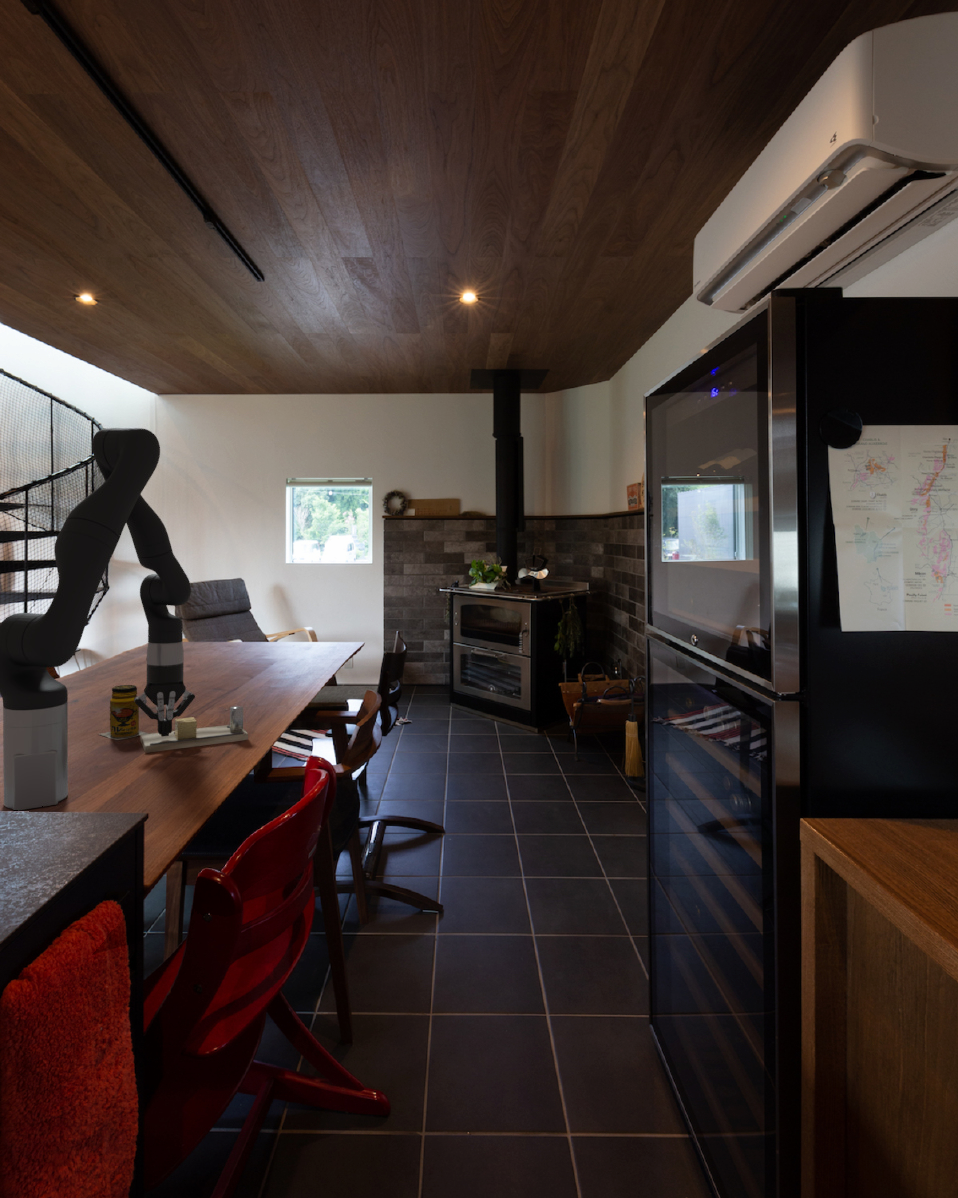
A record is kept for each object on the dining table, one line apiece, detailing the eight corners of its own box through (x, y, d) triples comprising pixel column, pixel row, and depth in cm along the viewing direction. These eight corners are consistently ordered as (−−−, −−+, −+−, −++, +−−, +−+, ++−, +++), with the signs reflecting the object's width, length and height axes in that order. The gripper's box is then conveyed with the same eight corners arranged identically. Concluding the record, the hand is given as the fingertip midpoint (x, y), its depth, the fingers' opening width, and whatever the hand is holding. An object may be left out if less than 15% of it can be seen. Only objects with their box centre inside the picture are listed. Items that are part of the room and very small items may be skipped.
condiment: (118, 741, 143) (118, 690, 142) (97, 735, 147) (98, 686, 146) (147, 734, 149) (148, 686, 149) (127, 728, 153) (128, 681, 153)
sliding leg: (196, 738, 142) (196, 721, 142) (177, 740, 140) (177, 723, 139) (191, 730, 148) (191, 714, 147) (173, 732, 145) (173, 716, 145)
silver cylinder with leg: (244, 732, 148) (244, 708, 148) (231, 734, 147) (231, 709, 146) (237, 726, 154) (238, 702, 153) (225, 727, 152) (225, 703, 152)
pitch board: (247, 739, 147) (247, 732, 147) (145, 752, 135) (145, 745, 135) (238, 729, 156) (238, 722, 156) (140, 741, 143) (140, 733, 143)
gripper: (133, 665, 132) (133, 743, 133) (199, 662, 140) (198, 736, 141) (130, 660, 138) (130, 735, 139) (193, 657, 146) (193, 728, 147)
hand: (164, 735), depth 140 cm, fingers closed
